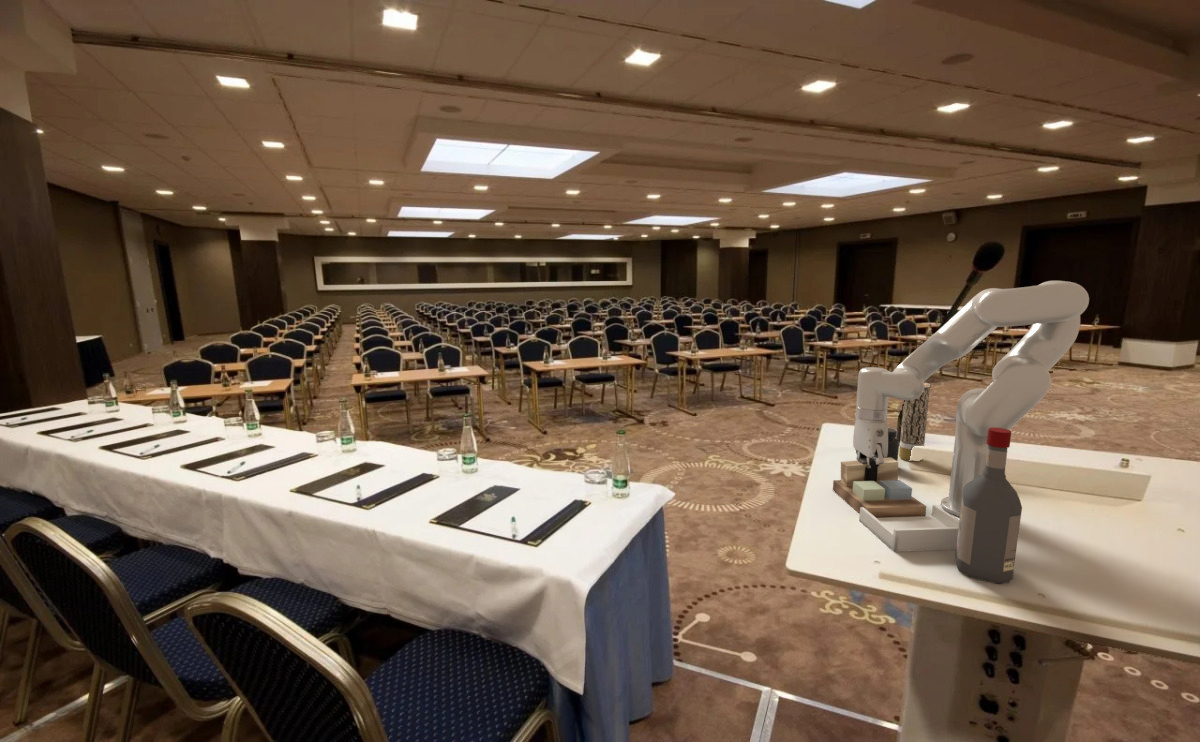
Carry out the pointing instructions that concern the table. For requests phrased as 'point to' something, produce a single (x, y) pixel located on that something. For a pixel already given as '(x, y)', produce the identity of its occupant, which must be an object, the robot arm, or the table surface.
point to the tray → (914, 530)
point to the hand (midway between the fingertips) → (866, 477)
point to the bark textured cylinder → (914, 423)
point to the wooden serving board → (880, 504)
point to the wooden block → (857, 471)
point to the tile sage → (868, 490)
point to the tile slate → (896, 489)
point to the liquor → (989, 518)
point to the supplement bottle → (892, 444)
